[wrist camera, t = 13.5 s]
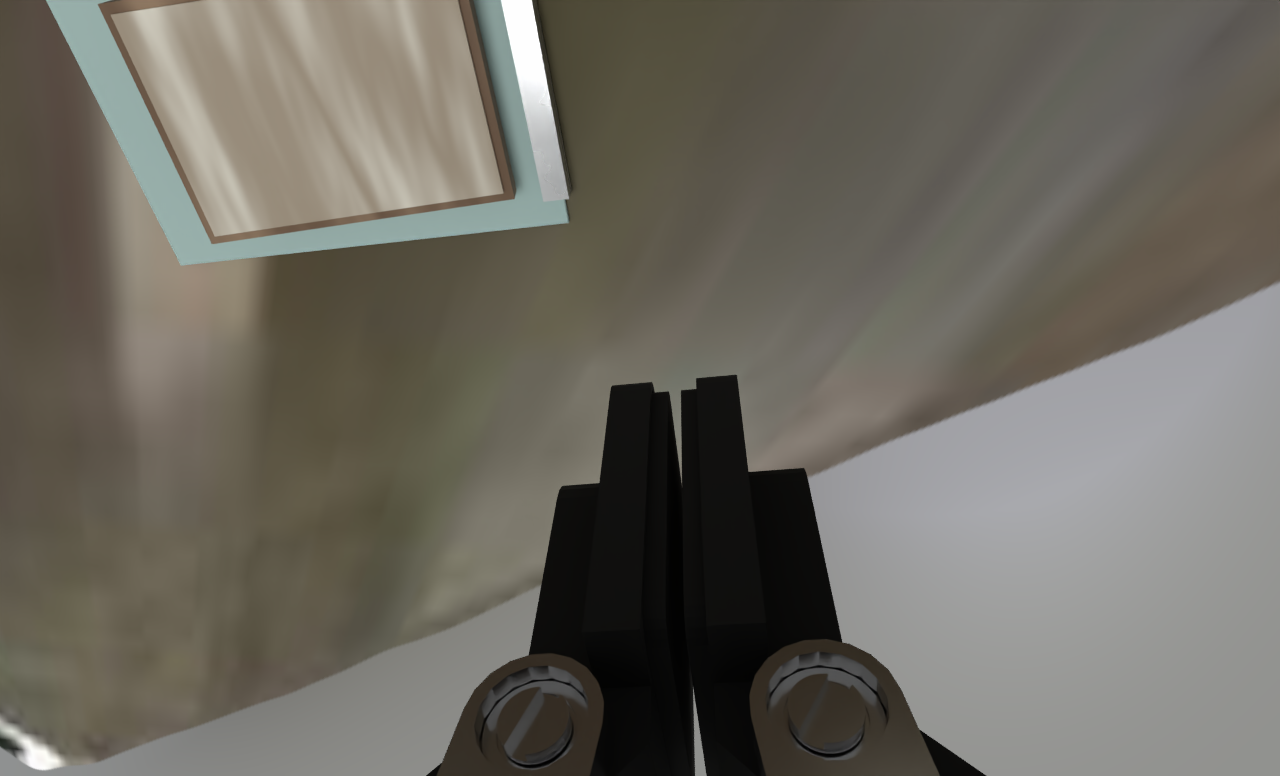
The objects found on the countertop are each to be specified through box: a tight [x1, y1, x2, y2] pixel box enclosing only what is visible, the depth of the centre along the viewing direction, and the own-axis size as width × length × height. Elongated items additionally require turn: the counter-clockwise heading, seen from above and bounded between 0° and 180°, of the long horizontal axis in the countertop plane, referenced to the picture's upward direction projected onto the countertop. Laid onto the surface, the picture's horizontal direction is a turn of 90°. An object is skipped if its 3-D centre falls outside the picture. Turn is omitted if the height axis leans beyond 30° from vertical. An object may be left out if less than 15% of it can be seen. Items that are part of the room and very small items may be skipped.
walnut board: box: [98, 0, 517, 244], centre depth 33 cm, size 1×10×14 cm
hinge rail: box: [501, 0, 572, 202], centre depth 33 cm, size 1×11×1 cm, turn 7°
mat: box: [46, 0, 569, 265], centre depth 34 cm, size 20×14×1 cm
